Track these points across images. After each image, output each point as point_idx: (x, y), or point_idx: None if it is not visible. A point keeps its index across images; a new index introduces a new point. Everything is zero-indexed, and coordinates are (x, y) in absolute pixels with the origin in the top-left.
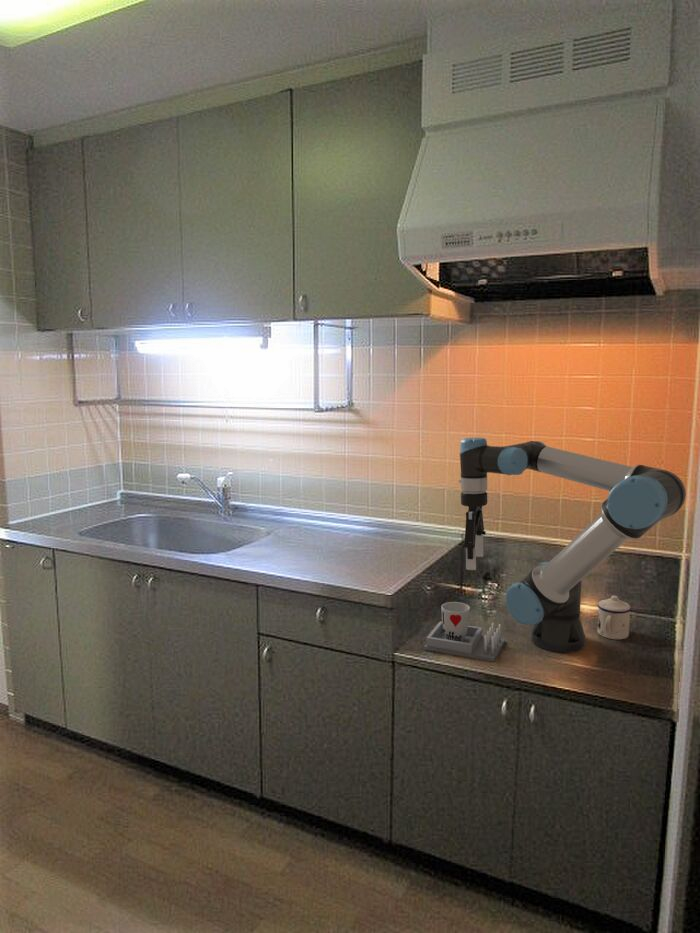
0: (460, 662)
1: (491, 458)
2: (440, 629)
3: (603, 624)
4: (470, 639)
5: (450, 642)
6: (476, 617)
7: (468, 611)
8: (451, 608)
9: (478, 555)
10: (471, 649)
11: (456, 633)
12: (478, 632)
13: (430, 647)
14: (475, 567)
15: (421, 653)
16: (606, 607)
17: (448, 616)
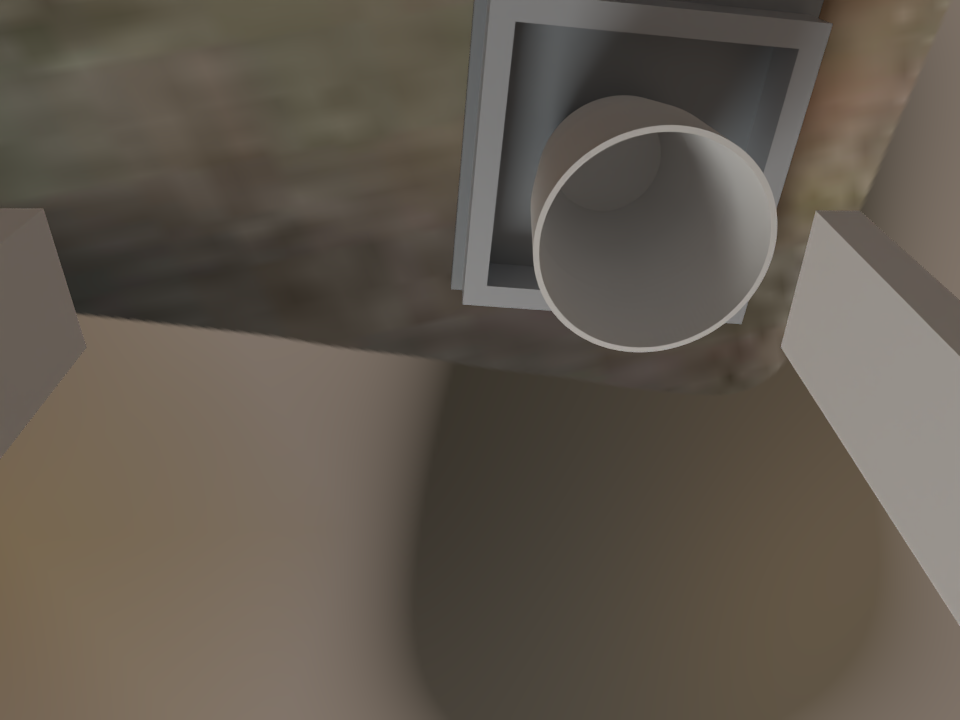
0: (878, 67)
1: None
2: (519, 274)
3: None
4: (577, 59)
5: (783, 174)
6: (117, 88)
7: (699, 125)
8: (549, 274)
9: (55, 291)
10: (814, 17)
11: (702, 160)
12: (595, 7)
13: None
14: (876, 230)
15: (773, 302)
16: None
17: (744, 263)
